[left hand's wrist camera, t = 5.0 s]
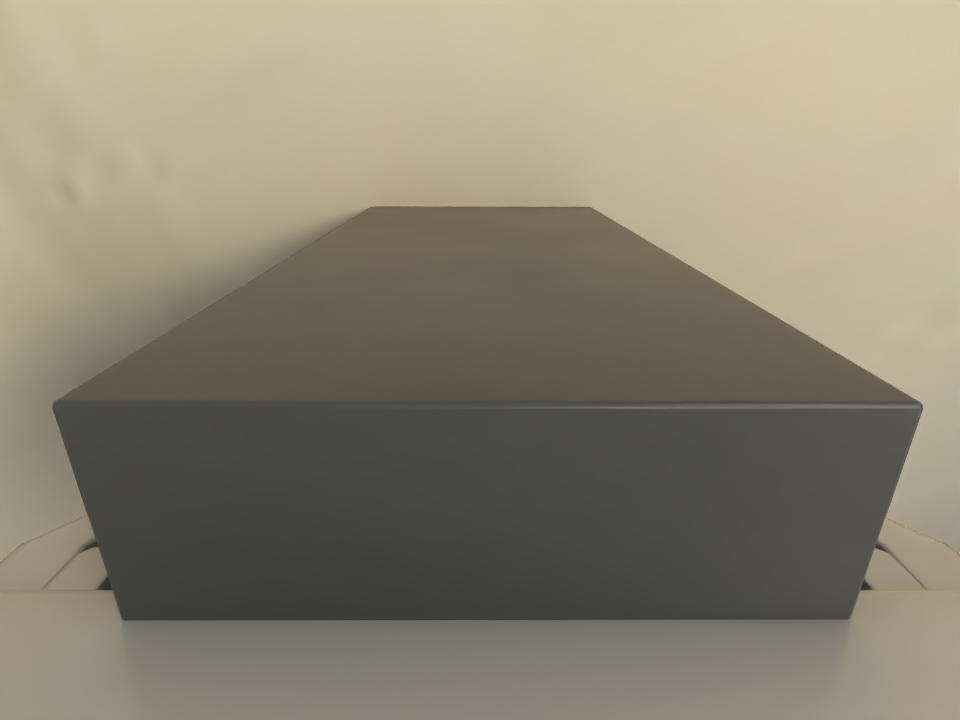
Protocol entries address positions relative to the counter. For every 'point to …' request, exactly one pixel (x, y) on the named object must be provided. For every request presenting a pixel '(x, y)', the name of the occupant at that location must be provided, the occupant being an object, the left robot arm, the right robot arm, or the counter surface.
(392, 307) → the box
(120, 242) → the counter surface
